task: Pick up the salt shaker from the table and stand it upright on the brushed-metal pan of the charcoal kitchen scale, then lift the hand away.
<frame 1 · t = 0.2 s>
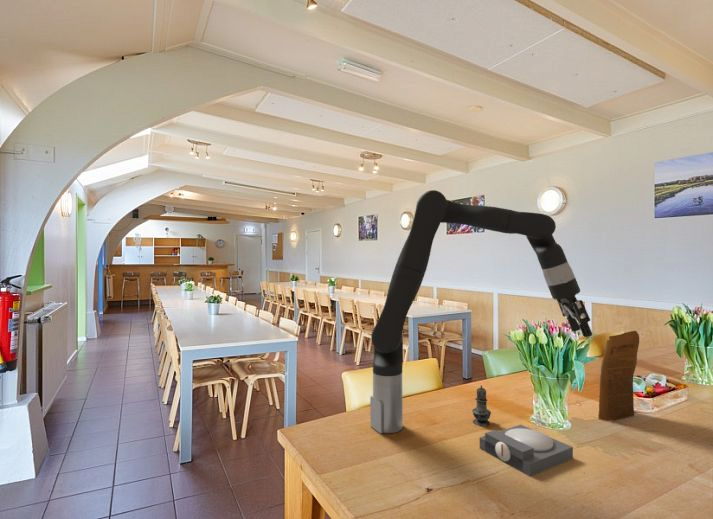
hand: (582, 333, 111), 31 cm above the table, tool tilted 20°, fingers open, 8 cm apart
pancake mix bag: (618, 417, 129), on the table
kitchen scale: (524, 453, 105), on the table
salt shaker: (481, 423, 125), on the table
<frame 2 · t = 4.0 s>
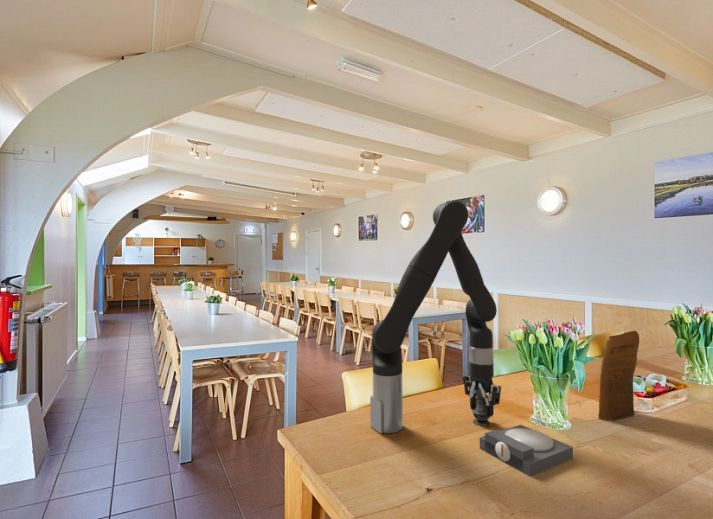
hand: (481, 412, 125), 3 cm above the table, tool pointing down, fingers closed on salt shaker, 6 cm apart
salt shaker: (481, 423, 125), on the table, touching gripper
everything else where it was.
when the fingers open (8 cm above the table, at t = 8.7 s): salt shaker drops 1 cm, resting on kitchen scale.
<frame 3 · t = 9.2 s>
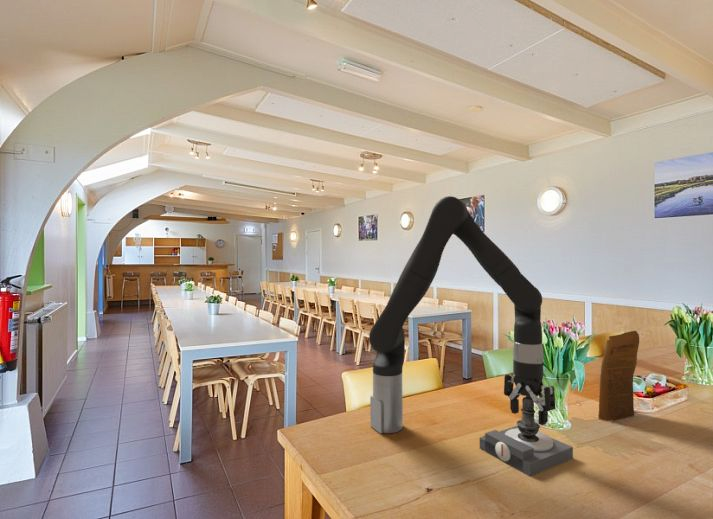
hand: (528, 418, 106), 9 cm above the table, tool pointing down, fingers open, 8 cm apart
salt shaker: (528, 438, 106), point 4 cm above the table, touching kitchen scale
everything else where it was.
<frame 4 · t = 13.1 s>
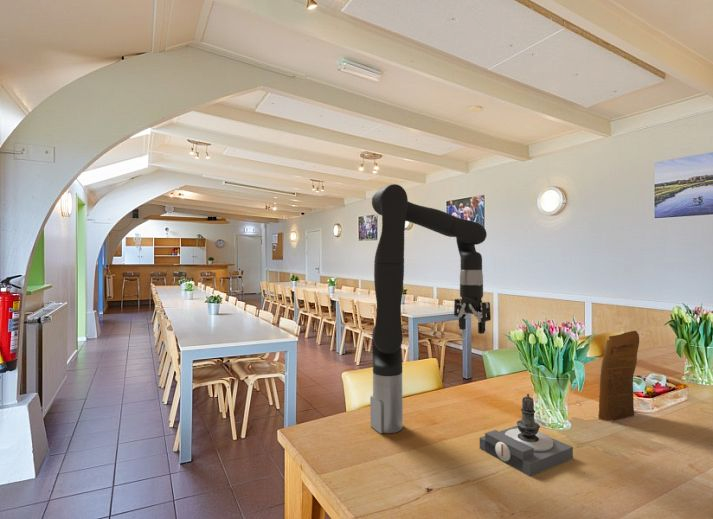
hand: (471, 331, 131), 28 cm above the table, tool pointing down, fingers open, 8 cm apart
nothing on the table moved.
at the end: salt shaker inside the target area on the kitchen scale (0.1 cm from its centre), point 3.6 cm above the kitchen scale's base; salt shaker tilted 0°; the gripper is holding nothing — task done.
